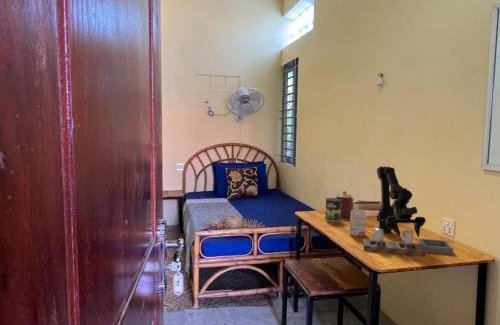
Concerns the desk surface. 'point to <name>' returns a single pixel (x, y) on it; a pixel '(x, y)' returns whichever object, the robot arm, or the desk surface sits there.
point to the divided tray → (393, 248)
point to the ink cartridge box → (357, 223)
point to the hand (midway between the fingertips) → (409, 236)
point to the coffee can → (333, 209)
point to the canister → (346, 203)
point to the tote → (434, 243)
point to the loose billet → (407, 239)
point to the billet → (378, 236)
